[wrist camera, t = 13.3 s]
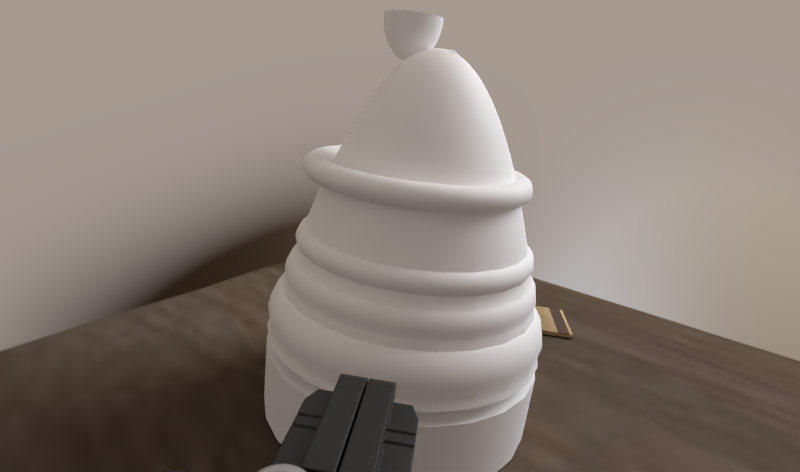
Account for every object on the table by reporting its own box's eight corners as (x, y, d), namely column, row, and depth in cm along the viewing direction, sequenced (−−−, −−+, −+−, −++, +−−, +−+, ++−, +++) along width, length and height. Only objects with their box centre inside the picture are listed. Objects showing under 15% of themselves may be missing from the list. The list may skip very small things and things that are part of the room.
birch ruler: (561, 313, 38) (562, 309, 38) (572, 338, 34) (573, 334, 34) (327, 277, 40) (328, 273, 40) (313, 297, 36) (313, 293, 36)
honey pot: (221, 368, 26) (227, -11, 21) (409, 318, 35) (447, 35, 29) (365, 554, 17) (439, -37, 12) (575, 425, 25) (675, 41, 20)
